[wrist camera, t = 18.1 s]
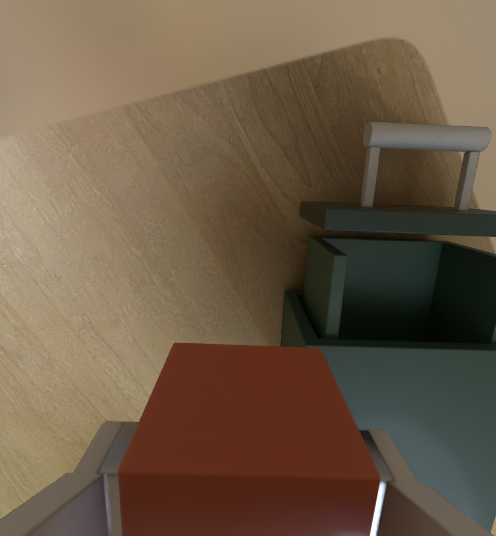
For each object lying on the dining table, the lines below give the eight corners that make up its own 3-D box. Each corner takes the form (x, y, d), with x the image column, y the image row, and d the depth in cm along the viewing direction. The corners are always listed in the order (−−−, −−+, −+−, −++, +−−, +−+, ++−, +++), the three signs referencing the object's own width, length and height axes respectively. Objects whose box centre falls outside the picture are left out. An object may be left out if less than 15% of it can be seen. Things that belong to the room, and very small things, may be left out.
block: (173, 341, 10) (115, 471, 5) (321, 346, 10) (383, 477, 5) (174, 462, 11) (128, 650, 6) (307, 465, 11) (349, 653, 7)
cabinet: (284, 290, 28) (305, 344, 18) (442, 295, 28) (545, 352, 18) (273, 442, 31) (286, 553, 22) (412, 445, 32) (483, 556, 22)
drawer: (305, 133, 24) (335, 107, 16) (473, 140, 24) (583, 119, 16) (287, 369, 28) (303, 436, 21) (427, 372, 29) (494, 441, 21)
